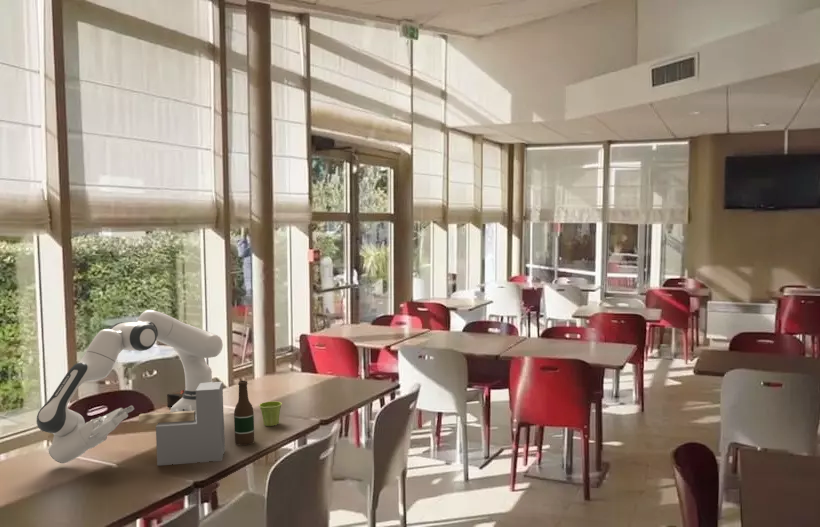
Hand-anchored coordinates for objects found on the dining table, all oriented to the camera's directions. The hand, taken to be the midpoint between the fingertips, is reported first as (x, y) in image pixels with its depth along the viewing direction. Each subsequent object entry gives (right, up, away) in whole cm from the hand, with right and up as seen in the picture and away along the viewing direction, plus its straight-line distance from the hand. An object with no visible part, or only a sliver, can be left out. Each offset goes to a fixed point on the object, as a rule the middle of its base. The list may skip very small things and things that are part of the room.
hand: (130, 410), depth 247 cm
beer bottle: (+36, -17, +21) cm, 45 cm away
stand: (+21, -18, +5) cm, 28 cm away
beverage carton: (-6, -15, +84) cm, 85 cm away
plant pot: (+41, -16, +45) cm, 63 cm away
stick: (+13, -4, +2) cm, 13 cm away
